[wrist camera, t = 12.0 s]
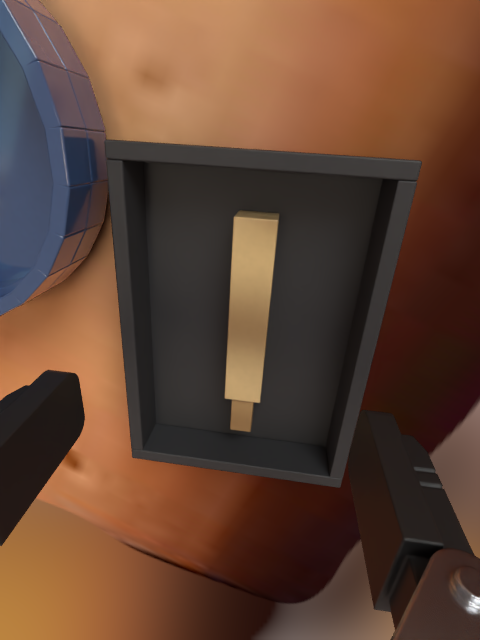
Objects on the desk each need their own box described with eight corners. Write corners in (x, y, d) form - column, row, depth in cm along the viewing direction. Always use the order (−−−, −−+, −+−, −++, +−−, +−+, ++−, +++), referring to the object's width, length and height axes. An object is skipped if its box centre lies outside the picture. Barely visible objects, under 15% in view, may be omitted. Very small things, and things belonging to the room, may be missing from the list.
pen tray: (132, 141, 14) (103, 139, 12) (400, 159, 13) (423, 160, 11) (149, 424, 20) (131, 458, 18) (334, 449, 19) (340, 488, 17)
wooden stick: (239, 209, 14) (233, 216, 13) (279, 213, 14) (278, 220, 13) (227, 411, 19) (222, 433, 17) (258, 415, 18) (256, 437, 17)
